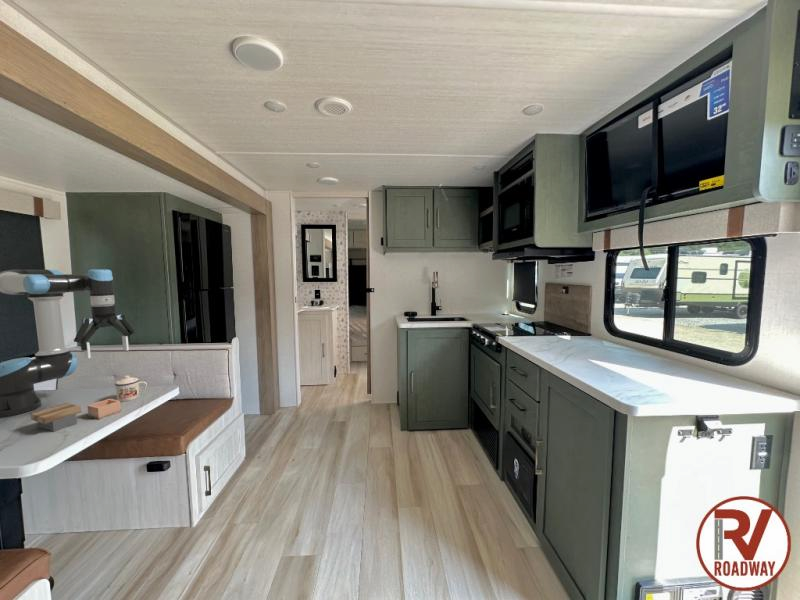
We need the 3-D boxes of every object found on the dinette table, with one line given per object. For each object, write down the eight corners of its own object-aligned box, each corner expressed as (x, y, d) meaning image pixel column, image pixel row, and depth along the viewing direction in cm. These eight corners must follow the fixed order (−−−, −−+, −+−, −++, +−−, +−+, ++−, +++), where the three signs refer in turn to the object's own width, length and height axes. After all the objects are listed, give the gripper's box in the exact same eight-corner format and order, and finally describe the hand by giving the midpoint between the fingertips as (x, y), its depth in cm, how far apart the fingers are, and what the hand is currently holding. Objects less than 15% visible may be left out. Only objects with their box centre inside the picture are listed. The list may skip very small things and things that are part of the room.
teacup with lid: (116, 403, 152) (114, 380, 151) (116, 398, 158) (114, 375, 157) (148, 397, 160) (146, 374, 159) (147, 392, 166) (145, 370, 165)
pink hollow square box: (88, 416, 138) (87, 405, 138) (110, 409, 146) (109, 398, 145) (99, 419, 135) (97, 408, 135) (121, 411, 143) (120, 401, 142)
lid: (30, 419, 127) (30, 413, 127) (67, 408, 137) (66, 402, 137) (45, 423, 123) (44, 417, 123) (81, 412, 133) (81, 406, 133)
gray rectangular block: (38, 426, 130) (37, 417, 129) (61, 419, 136) (60, 410, 136) (53, 431, 125) (52, 421, 125) (77, 423, 132) (76, 414, 131)
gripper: (69, 309, 122) (74, 362, 124) (141, 302, 145) (145, 347, 147) (58, 308, 125) (64, 360, 127) (131, 302, 148) (135, 346, 150)
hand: (107, 353), depth 137 cm, fingers open, 13 cm apart
